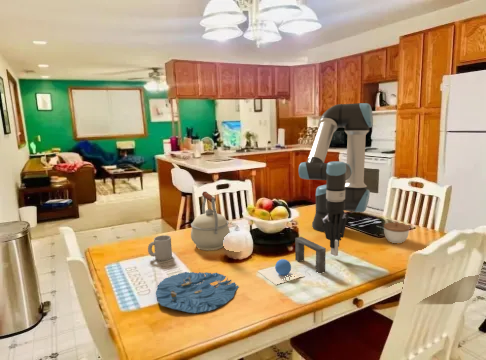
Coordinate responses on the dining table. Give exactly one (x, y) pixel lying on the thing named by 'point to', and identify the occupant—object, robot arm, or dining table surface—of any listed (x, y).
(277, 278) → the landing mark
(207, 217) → the kettle
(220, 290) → the blue cloth
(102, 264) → the dining table surface
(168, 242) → the cup
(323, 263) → the bridge
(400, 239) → the white lidded pot
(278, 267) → the ball
